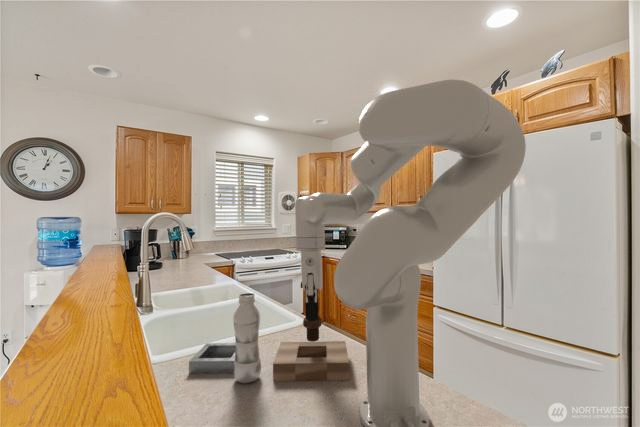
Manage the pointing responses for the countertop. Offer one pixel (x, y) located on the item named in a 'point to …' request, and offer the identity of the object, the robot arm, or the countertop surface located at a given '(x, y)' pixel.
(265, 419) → the countertop surface
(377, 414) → the robot arm
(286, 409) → the countertop surface
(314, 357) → the wooden block with hole
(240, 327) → the plastic bottle
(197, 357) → the frame
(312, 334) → the bolt
